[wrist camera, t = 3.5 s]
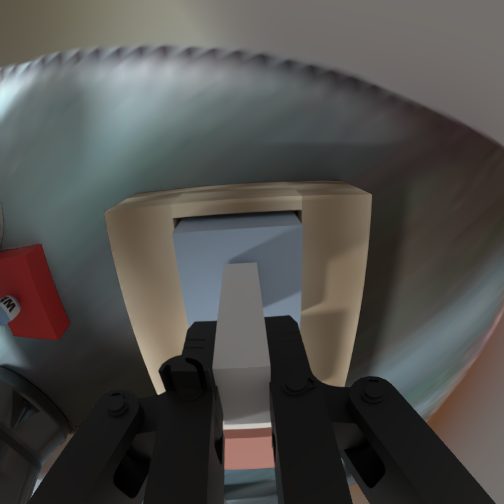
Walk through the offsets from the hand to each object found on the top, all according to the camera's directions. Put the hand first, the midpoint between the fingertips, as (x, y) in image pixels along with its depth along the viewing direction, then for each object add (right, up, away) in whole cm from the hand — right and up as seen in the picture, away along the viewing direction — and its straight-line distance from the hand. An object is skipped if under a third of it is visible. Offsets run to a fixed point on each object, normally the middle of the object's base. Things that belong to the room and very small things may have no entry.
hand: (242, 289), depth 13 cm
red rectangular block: (-20, -1, +8) cm, 22 cm away
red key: (+1, -12, +7) cm, 14 cm away
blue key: (0, +1, +3) cm, 3 cm away
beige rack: (0, -4, +9) cm, 10 cm away
